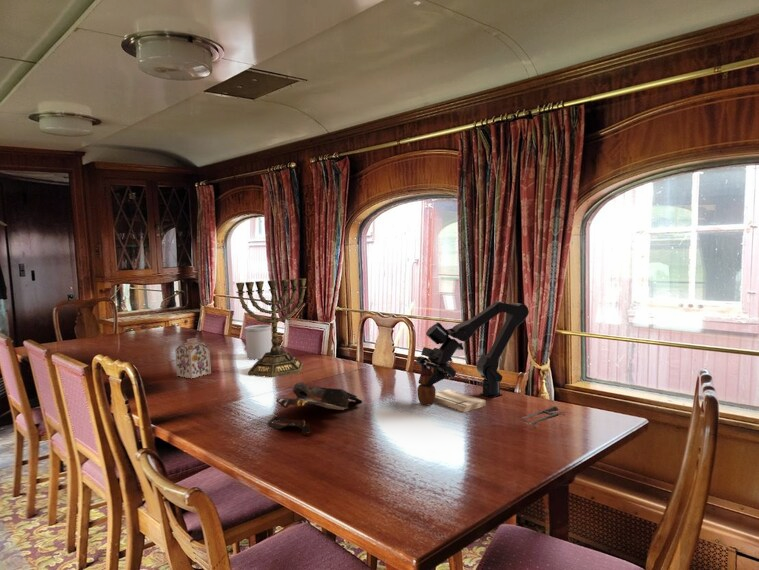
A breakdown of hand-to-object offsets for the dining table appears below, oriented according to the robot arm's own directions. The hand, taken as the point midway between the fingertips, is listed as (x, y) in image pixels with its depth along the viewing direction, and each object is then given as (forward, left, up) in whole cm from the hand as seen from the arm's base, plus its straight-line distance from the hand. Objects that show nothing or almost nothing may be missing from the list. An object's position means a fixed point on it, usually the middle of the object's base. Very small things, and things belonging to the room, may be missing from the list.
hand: (423, 384), depth 191 cm
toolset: (+35, -14, -8) cm, 38 cm away
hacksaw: (-20, +38, -8) cm, 44 cm away
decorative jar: (+54, -110, -8) cm, 123 cm away
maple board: (-11, +6, -8) cm, 15 cm away
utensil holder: (+13, -127, -8) cm, 128 cm away
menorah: (+19, -91, -8) cm, 93 cm away
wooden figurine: (-1, 0, -8) cm, 8 cm away
